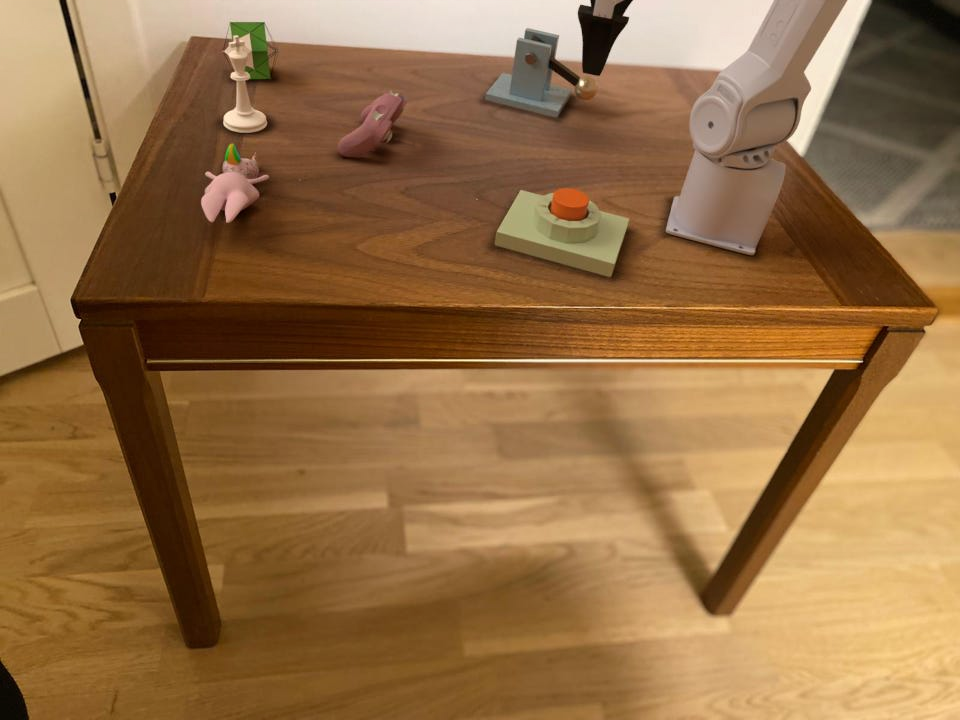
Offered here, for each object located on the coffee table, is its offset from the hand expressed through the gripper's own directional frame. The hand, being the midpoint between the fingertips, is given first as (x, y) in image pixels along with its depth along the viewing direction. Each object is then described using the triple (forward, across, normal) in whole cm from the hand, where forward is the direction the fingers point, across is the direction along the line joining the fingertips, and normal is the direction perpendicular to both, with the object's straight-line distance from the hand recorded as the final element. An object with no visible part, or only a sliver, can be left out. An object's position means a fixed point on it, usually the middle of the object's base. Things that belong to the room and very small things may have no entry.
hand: (595, 62), depth 89 cm
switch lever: (+5, -6, -5) cm, 10 cm away
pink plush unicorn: (+9, +33, -31) cm, 46 cm away
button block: (+9, +26, +2) cm, 27 cm away
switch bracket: (+9, -6, -8) cm, 14 cm away
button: (+6, +26, +2) cm, 26 cm away
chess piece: (+9, +16, -38) cm, 42 cm away
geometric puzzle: (+9, +4, -43) cm, 44 cm away
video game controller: (+9, +15, -23) cm, 28 cm away
